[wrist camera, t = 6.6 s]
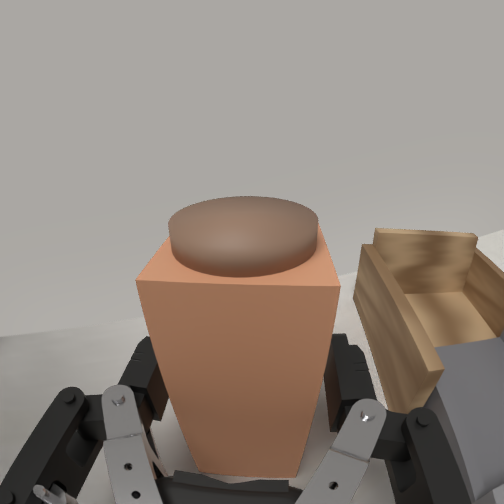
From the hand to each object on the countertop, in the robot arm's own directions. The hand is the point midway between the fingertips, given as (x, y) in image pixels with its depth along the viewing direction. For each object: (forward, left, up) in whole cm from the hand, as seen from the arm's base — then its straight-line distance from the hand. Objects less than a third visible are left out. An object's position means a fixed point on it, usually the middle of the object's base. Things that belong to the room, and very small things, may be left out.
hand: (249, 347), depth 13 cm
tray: (+15, -3, -5) cm, 16 cm away
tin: (0, -1, -7) cm, 7 cm away
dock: (+15, +6, -7) cm, 17 cm away
